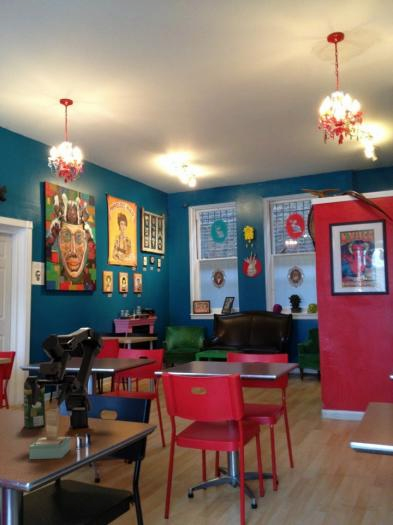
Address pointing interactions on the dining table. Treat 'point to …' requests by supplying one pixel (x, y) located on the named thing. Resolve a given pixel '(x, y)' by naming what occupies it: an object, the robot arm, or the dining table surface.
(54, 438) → the tan boxy piece
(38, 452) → the teal square tray
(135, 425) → the dining table surface
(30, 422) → the coffee jar
